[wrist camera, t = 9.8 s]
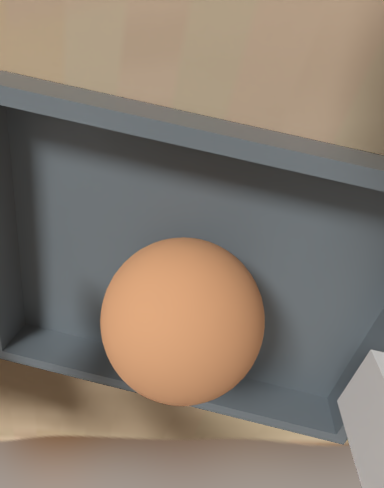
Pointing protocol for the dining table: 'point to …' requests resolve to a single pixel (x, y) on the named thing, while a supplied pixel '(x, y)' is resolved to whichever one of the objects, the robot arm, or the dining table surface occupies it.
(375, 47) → the dining table surface
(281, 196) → the tray
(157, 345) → the ball
